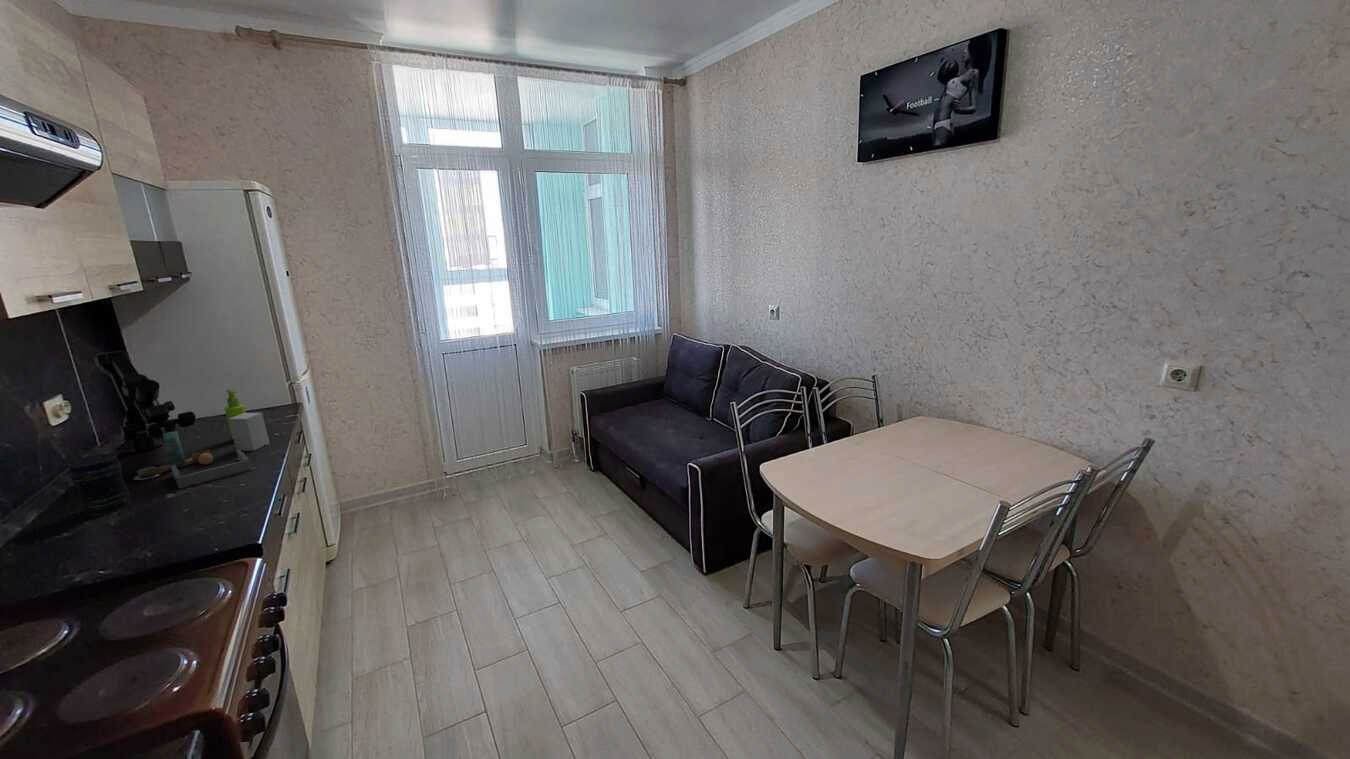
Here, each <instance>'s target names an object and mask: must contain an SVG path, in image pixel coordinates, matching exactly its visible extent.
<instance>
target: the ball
mask: <svg viewBox="0 0 1350 759" xmlns="http://www.w3.org/2000/svg"><path fill="white" fill-rule="evenodd" d="M210 453H211V452H210ZM210 453H203V454H201V455H200V456H199V457H198V462H199V464H201V465H209V464H211V463H212V462H213V460H214V456H212V455H213V454H212V453H211V454H212V455H211V454H210Z"/></svg>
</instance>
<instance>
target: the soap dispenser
mask: <svg viewBox="0 0 1350 759" xmlns="http://www.w3.org/2000/svg"><path fill="white" fill-rule="evenodd" d="M225 391H226V392H227V393H228V394H227V395H228V398H226V400H227V405H228V406H227V407H224V410H225V415H226V419H227V422H228V423H227V424H228V427H229V431H230V435H231V438H232V440H233V435H232V431H231V427H230V424H229V420H228V419H230V418H232V417H235V416H238V415H240V414H243V413H247V412H246V408H245V404H240V401H239V397H238V396H236V395H235V394H238V393H237V390H236V389H234V388H229V389H226V390H225Z"/></svg>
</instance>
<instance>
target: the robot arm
mask: <svg viewBox="0 0 1350 759" xmlns="http://www.w3.org/2000/svg"><path fill="white" fill-rule="evenodd" d="M93 360H94V363H95V366H96V367H97V368H99V369H100V371H101V373H102V374H104V375H106V376H108V377H109V378H111V382H112V383H113V385H114V387H115V390H116V392H117V394H118V396H119V398H120V400H121V402H122V404H123V407H124V410H125V412H126V413H125V415H124V419H123V425H122V427H121V428H120V435H121V436H120V437H121V439H122V441H123V442H127V441H131V444H132V448H133V449H132V450H130V453H131V452H133V453H138V452H137V451H148V452H151V451H153V450H152V449H154V450H155V448H156V447H158V446H160V444H161V445H162V446H163V444H165V441H164V437H163V434H165V433H168V432H174V431H176V426H177V425H178V426H179V427H180V428H186V427H190V426H191V427H192V426H193V425H195V423H196V416H197V415H196V413H194V411H191V410H189V411H185V412H181V413H177V417H175V418H171V419H169V418H170V417H171V416H170V412H173V411H175V409H176V407H175V403H174V402H173V401H172V400H168V401H165V402H164V403H161V404H160V402H159V400H158V399H159V398H160V397H159V396H160V387H161V386H160V385H161V384H160V383H159V382H157V380H154V379H149V378H148V376H146V375H144V374H140V373H139V371H138V370H137V369H136V368H135V366H134V364H133V363H132V360H131V356H130V354H129V352H128V351H126V350H117V351H109V352H103V353H102V352H101V353H98V354H97V355H96V356H94V358H93ZM162 428H163V431H162ZM158 441H159V442H162V443H158ZM160 447H161V446H160ZM158 448H159V447H158ZM156 449H157V448H156ZM150 450H151V451H150Z"/></svg>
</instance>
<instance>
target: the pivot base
mask: <svg viewBox="0 0 1350 759" xmlns="http://www.w3.org/2000/svg"><path fill="white" fill-rule="evenodd" d="M162 473H163V472H160V473H157V474H156V475H153V476H150V477H146V478H139V475H136V476H134V477H133V481H135V480H142V481H147V480H146V479H148V480H151V479H150V478H152V479H155V478H157V476H158V477H160V476H161V474H162ZM163 474H164V473H163ZM163 474H162V475H163ZM154 477H155V478H154Z"/></svg>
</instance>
